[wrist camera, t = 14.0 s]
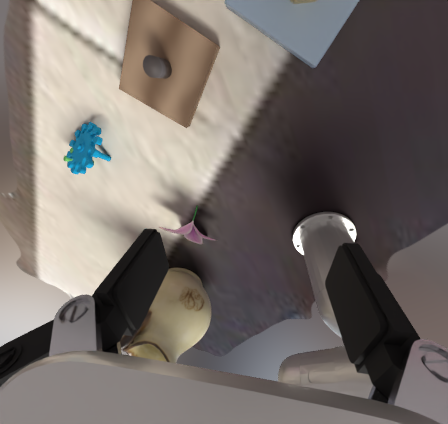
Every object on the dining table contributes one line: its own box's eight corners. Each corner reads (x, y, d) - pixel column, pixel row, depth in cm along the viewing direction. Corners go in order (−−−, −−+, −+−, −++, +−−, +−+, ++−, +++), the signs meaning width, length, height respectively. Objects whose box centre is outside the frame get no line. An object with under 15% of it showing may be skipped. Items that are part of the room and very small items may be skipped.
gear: (96, 111, 34) (91, 164, 32) (126, 129, 39) (124, 175, 37) (63, 132, 39) (57, 179, 37) (94, 146, 44) (90, 187, 42)
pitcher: (216, 307, 65) (195, 410, 44) (149, 294, 67) (100, 386, 47) (219, 261, 53) (192, 373, 32) (138, 247, 55) (64, 344, 34)
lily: (163, 206, 47) (150, 244, 42) (183, 187, 38) (169, 233, 33) (205, 223, 52) (197, 258, 48) (231, 210, 43) (225, 252, 39)
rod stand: (219, 47, 28) (211, 39, 23) (189, 125, 34) (177, 132, 29) (142, -5, 26) (114, -26, 21) (126, 88, 33) (102, 89, 28)
